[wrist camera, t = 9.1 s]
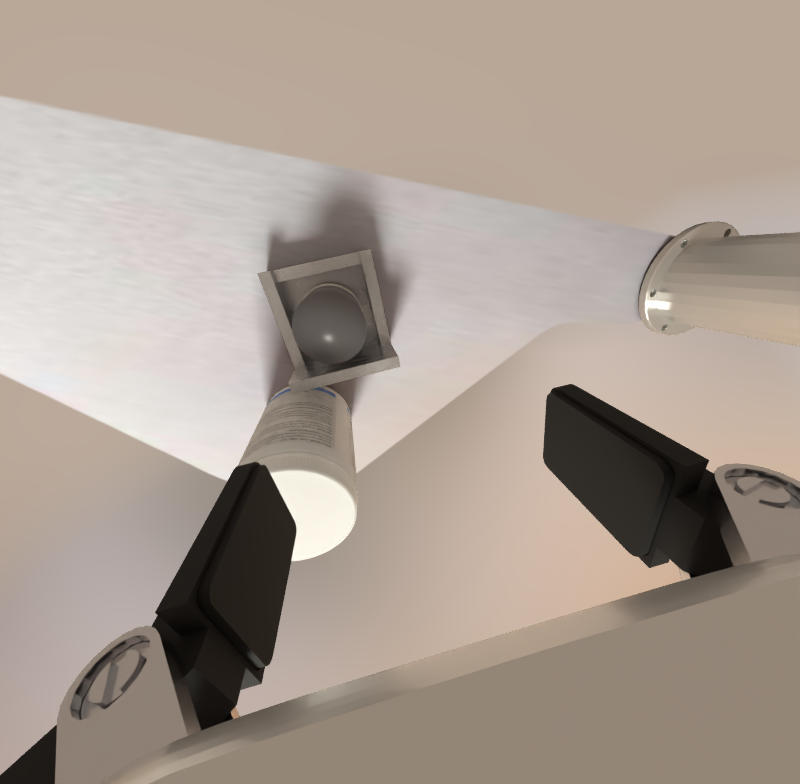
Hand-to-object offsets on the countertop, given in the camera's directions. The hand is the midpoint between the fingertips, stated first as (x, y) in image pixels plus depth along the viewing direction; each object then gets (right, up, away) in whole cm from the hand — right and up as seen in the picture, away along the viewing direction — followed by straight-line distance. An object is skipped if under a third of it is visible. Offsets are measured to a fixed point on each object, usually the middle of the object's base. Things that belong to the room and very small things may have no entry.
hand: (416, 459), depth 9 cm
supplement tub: (-11, -1, +24) cm, 26 cm away
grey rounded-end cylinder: (-7, +10, +19) cm, 22 cm away
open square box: (-7, +10, +19) cm, 23 cm away
